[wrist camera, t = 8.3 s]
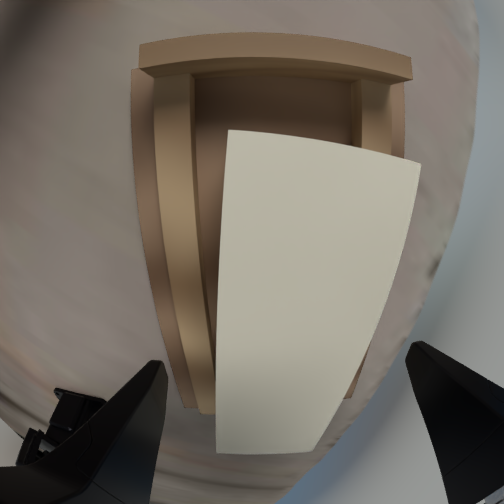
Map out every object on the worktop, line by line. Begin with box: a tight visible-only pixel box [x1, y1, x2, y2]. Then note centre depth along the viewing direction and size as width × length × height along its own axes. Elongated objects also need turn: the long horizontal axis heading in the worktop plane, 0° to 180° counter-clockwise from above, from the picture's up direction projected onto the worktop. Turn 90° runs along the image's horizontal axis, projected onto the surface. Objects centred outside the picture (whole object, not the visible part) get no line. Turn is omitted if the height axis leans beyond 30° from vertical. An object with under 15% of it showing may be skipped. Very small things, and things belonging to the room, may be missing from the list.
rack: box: [131, 32, 413, 415], centre depth 13 cm, size 22×13×4 cm, turn 1°
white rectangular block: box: [216, 130, 421, 454], centre depth 11 cm, size 14×5×6 cm, turn 175°
